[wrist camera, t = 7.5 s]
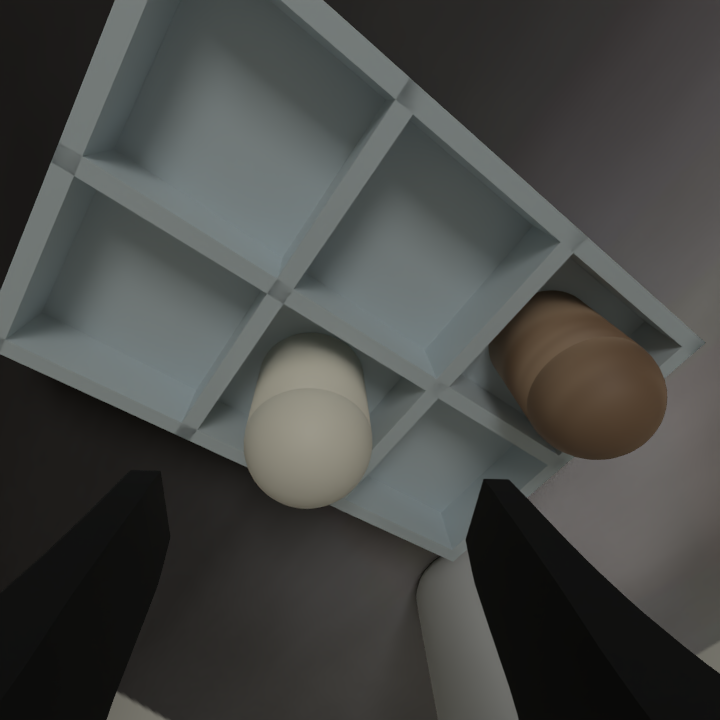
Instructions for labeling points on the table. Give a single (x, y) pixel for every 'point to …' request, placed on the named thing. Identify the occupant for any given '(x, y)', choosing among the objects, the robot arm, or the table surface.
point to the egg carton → (299, 251)
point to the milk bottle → (460, 646)
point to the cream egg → (309, 422)
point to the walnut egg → (579, 378)
